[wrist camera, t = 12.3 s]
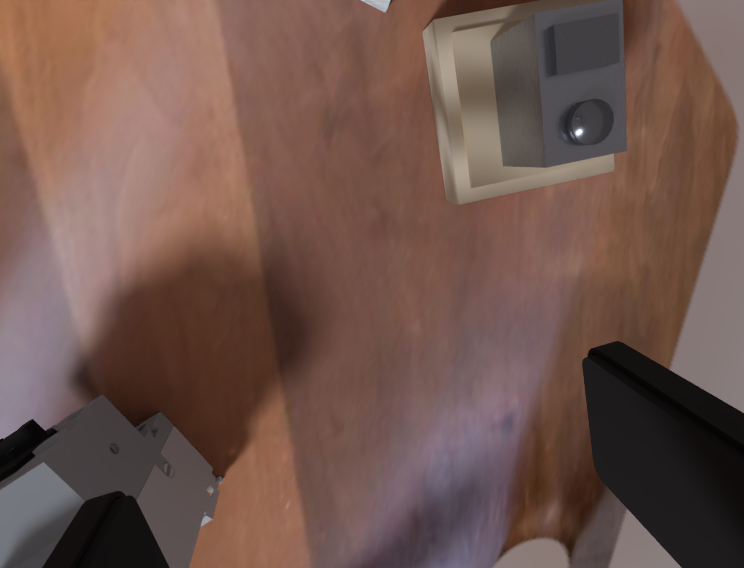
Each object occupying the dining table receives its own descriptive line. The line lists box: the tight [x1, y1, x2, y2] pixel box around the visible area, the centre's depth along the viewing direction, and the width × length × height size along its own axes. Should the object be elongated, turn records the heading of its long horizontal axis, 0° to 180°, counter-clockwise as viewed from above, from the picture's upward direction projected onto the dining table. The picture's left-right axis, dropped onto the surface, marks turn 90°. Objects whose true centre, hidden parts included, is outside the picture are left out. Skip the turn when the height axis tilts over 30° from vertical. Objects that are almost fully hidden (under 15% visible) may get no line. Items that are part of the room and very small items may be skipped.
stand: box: [422, 0, 615, 205], centre depth 33 cm, size 12×12×3 cm
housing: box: [490, 0, 627, 168], centre depth 28 cm, size 8×5×7 cm, turn 11°
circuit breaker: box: [0, 395, 223, 568], centre depth 30 cm, size 8×14×15 cm, turn 32°
